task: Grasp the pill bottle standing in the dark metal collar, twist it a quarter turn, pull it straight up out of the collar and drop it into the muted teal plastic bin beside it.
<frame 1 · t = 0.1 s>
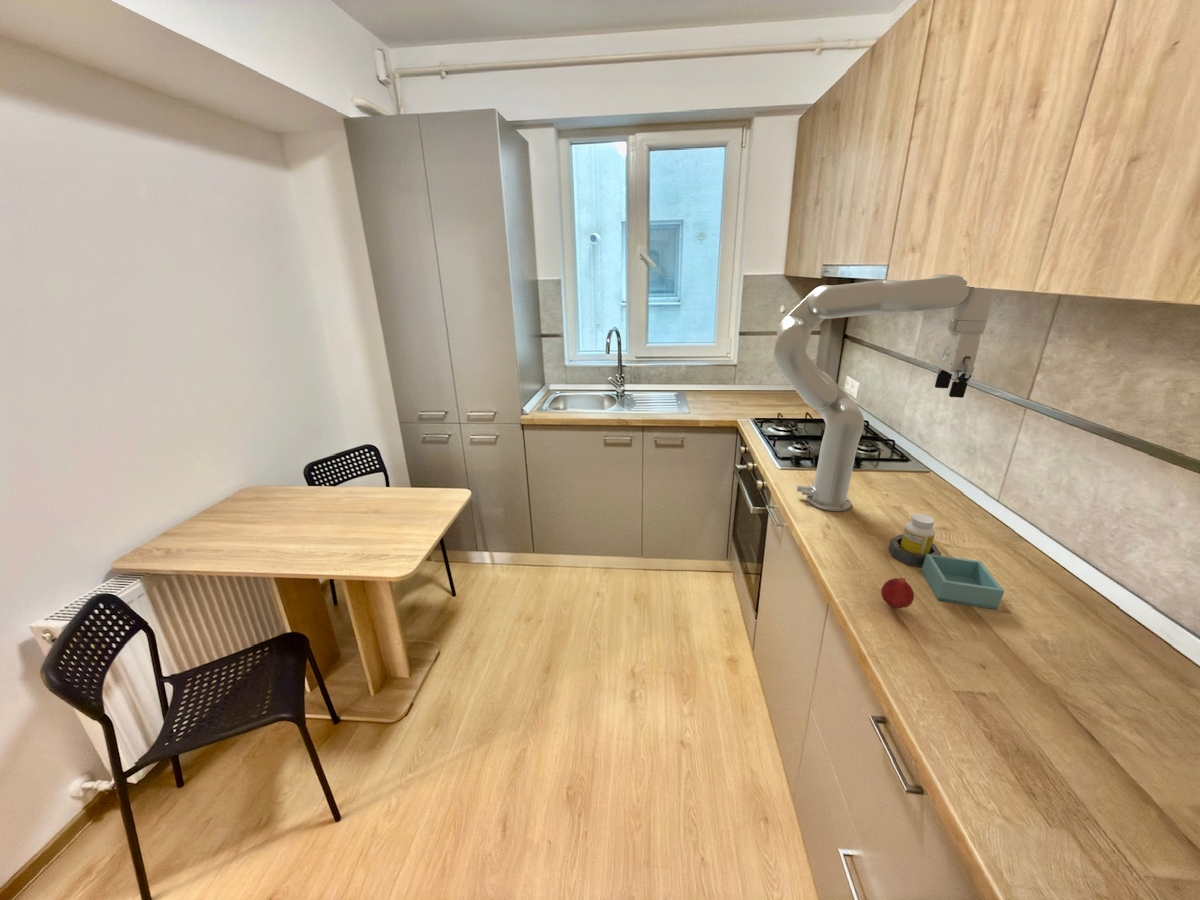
hand: (948, 392, 125), 37 cm above the table, tool pointing down, fingers open, 9 cm apart
bin: (956, 589, 106), on the table
pill bottle: (912, 556, 118), resting in socket collar
socket collar: (912, 556, 118), on the table
onion: (893, 608, 101), on the table
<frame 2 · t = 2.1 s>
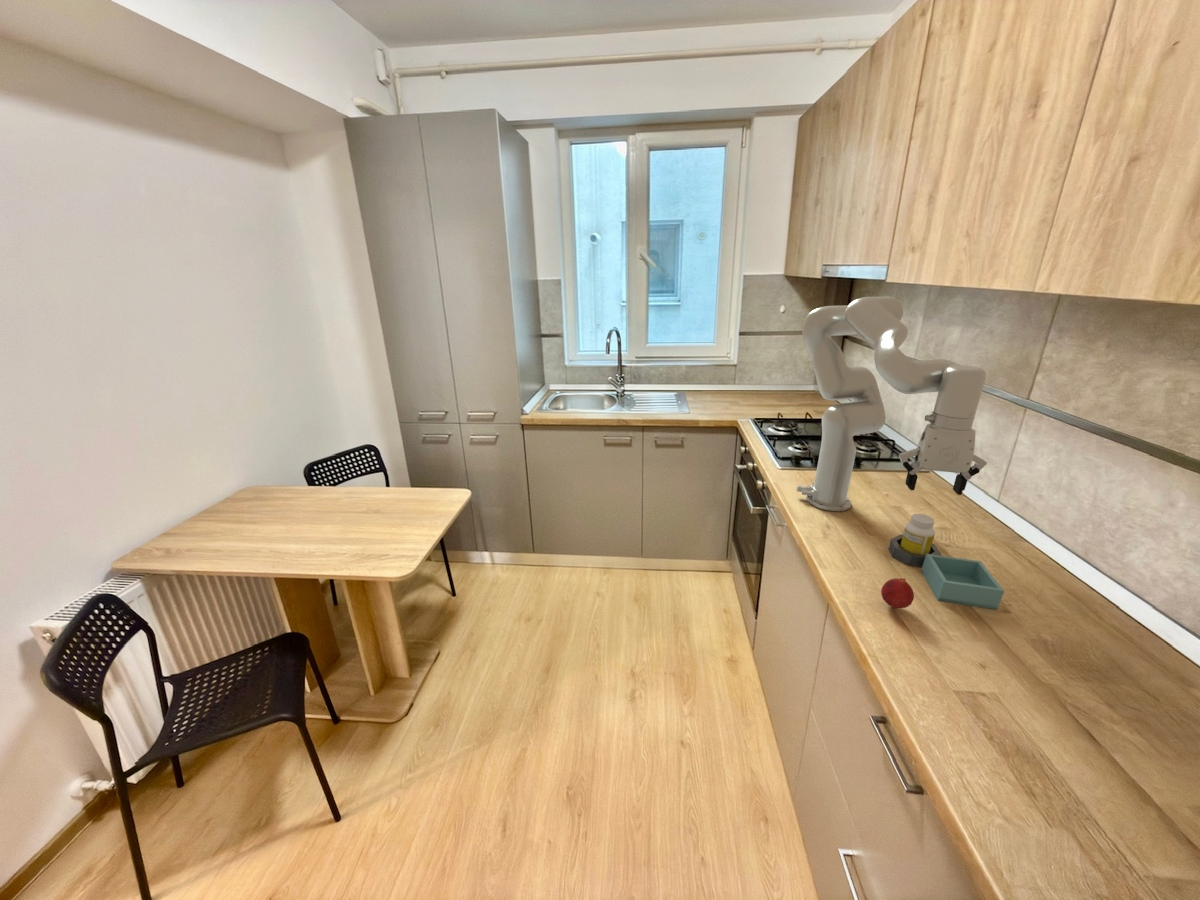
hand: (933, 490, 111), 19 cm above the table, tool pointing down, fingers open, 9 cm apart
nothing on the table moved.
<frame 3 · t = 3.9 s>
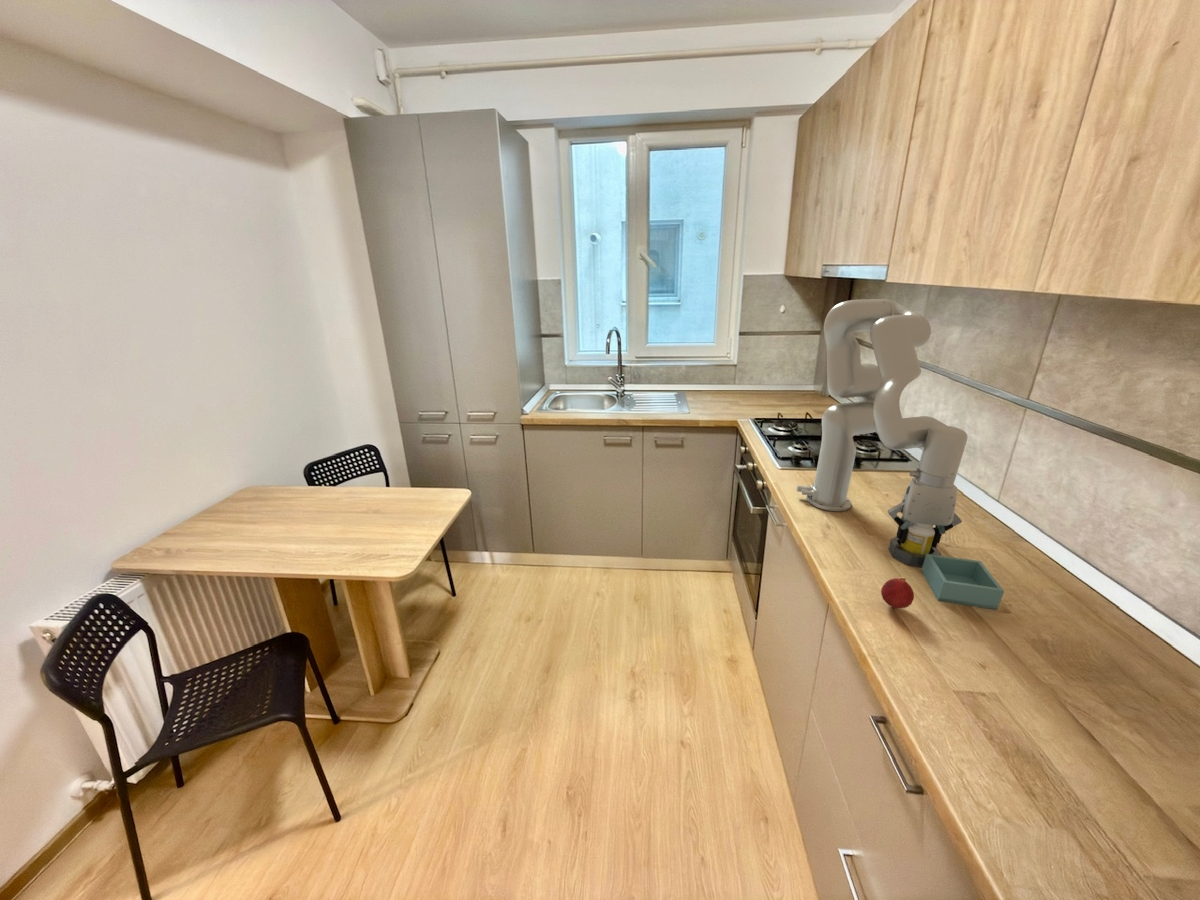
hand: (916, 542, 117), 4 cm above the table, tool pointing down, fingers closed on pill bottle, 6 cm apart
pill bottle: (912, 556, 118), resting in socket collar, touching gripper
everything else where it was.
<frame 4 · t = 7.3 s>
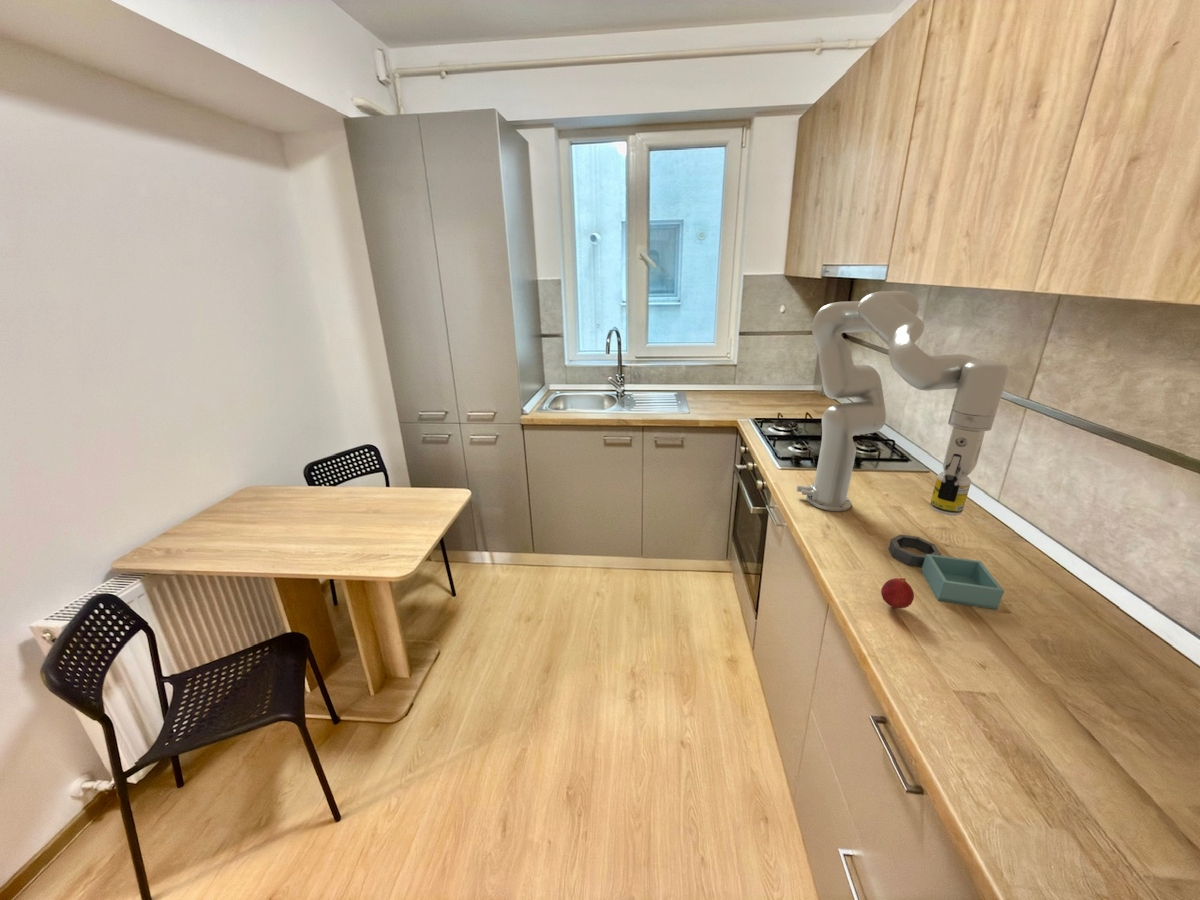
hand: (949, 494, 107), 20 cm above the table, tool pointing down, fingers closed on pill bottle, 6 cm apart
pill bottle: (945, 511, 108), point 16 cm above the table, touching gripper
everything else where it was.
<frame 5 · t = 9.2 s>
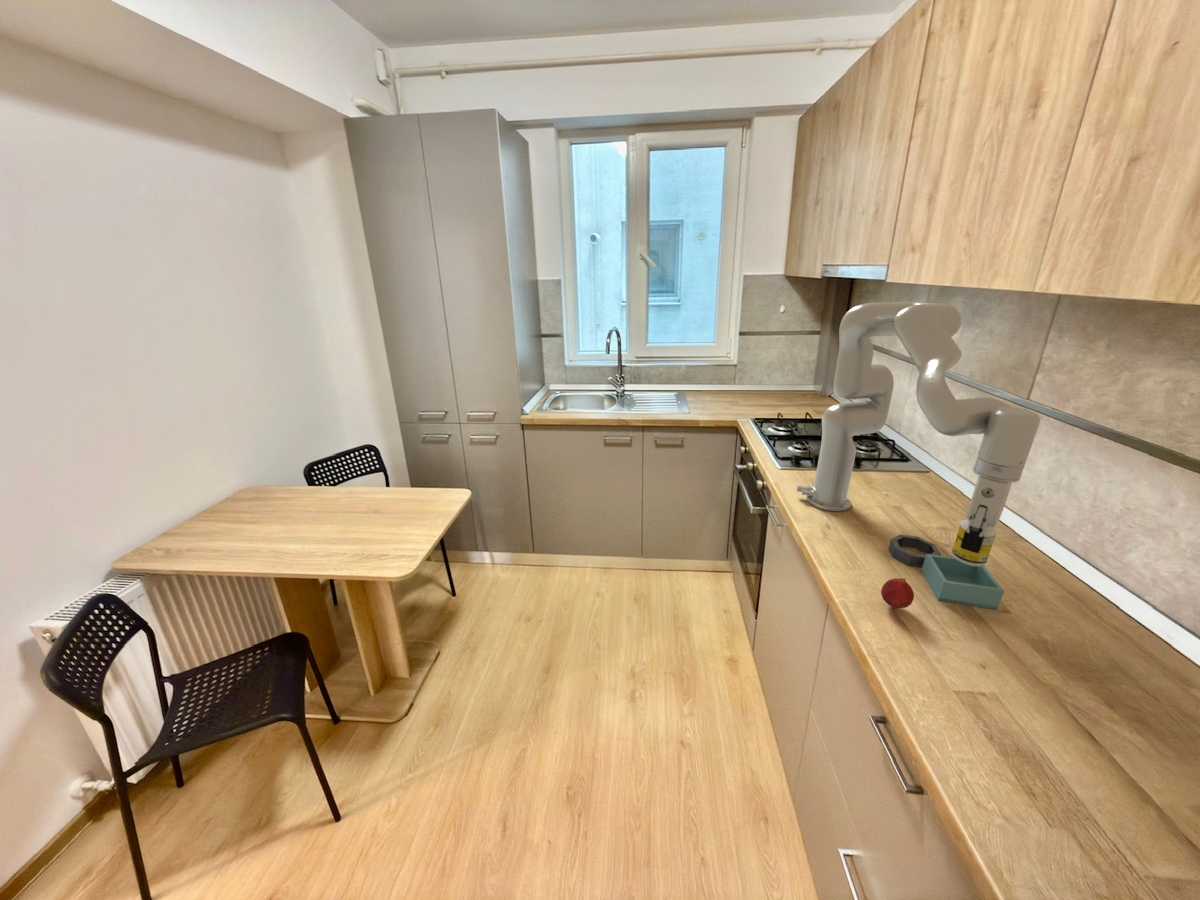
hand: (973, 543, 102), 12 cm above the table, tool pointing down, fingers closed on pill bottle, 6 cm apart
pill bottle: (967, 559, 103), point 8 cm above the table, touching gripper
everything else where it was.
when the fingers open (7 cm above the table, at t = 10.7 s): pill bottle drops 2 cm, resting on bin.
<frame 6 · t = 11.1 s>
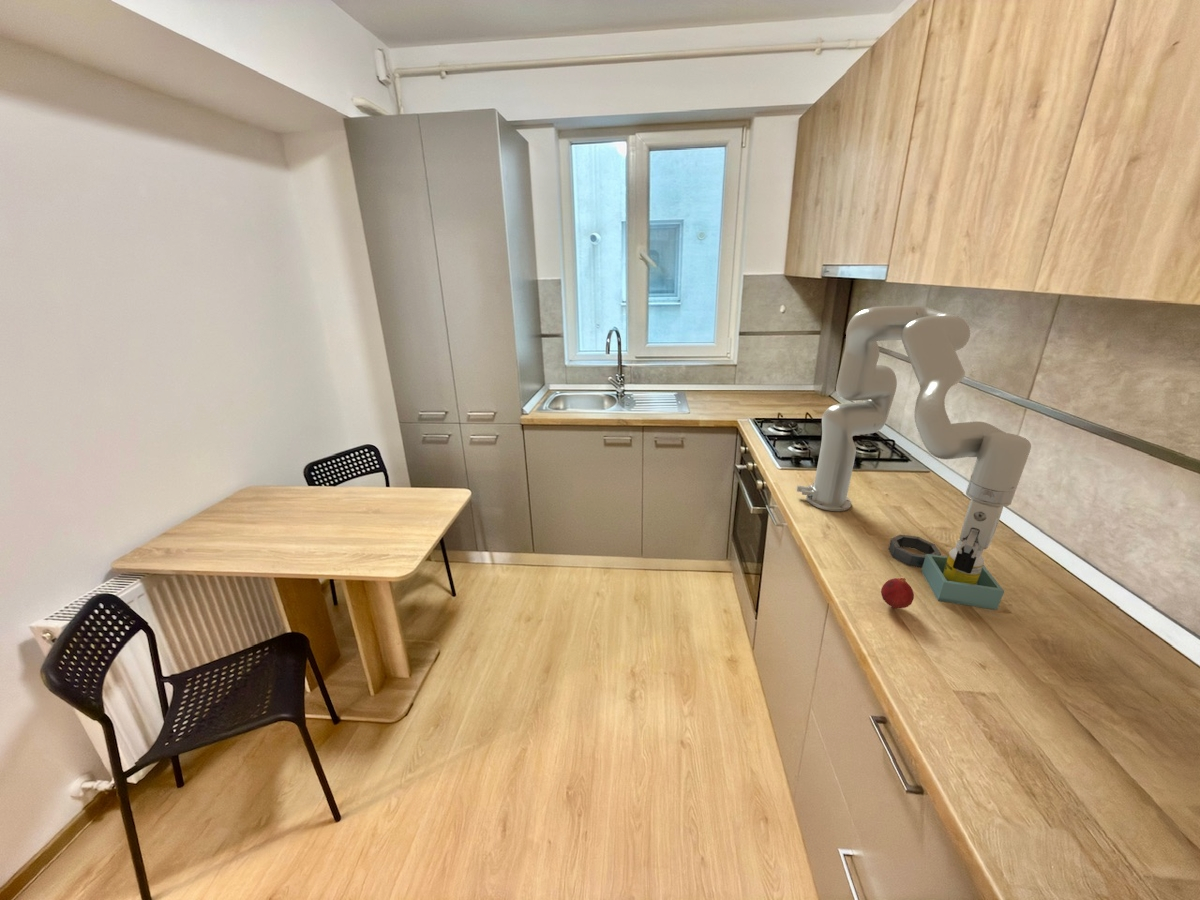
hand: (966, 560, 103), 8 cm above the table, tool pointing down, fingers open, 9 cm apart
pill bottle: (956, 586, 106), point 1 cm above the table, touching bin
everything else where it was.
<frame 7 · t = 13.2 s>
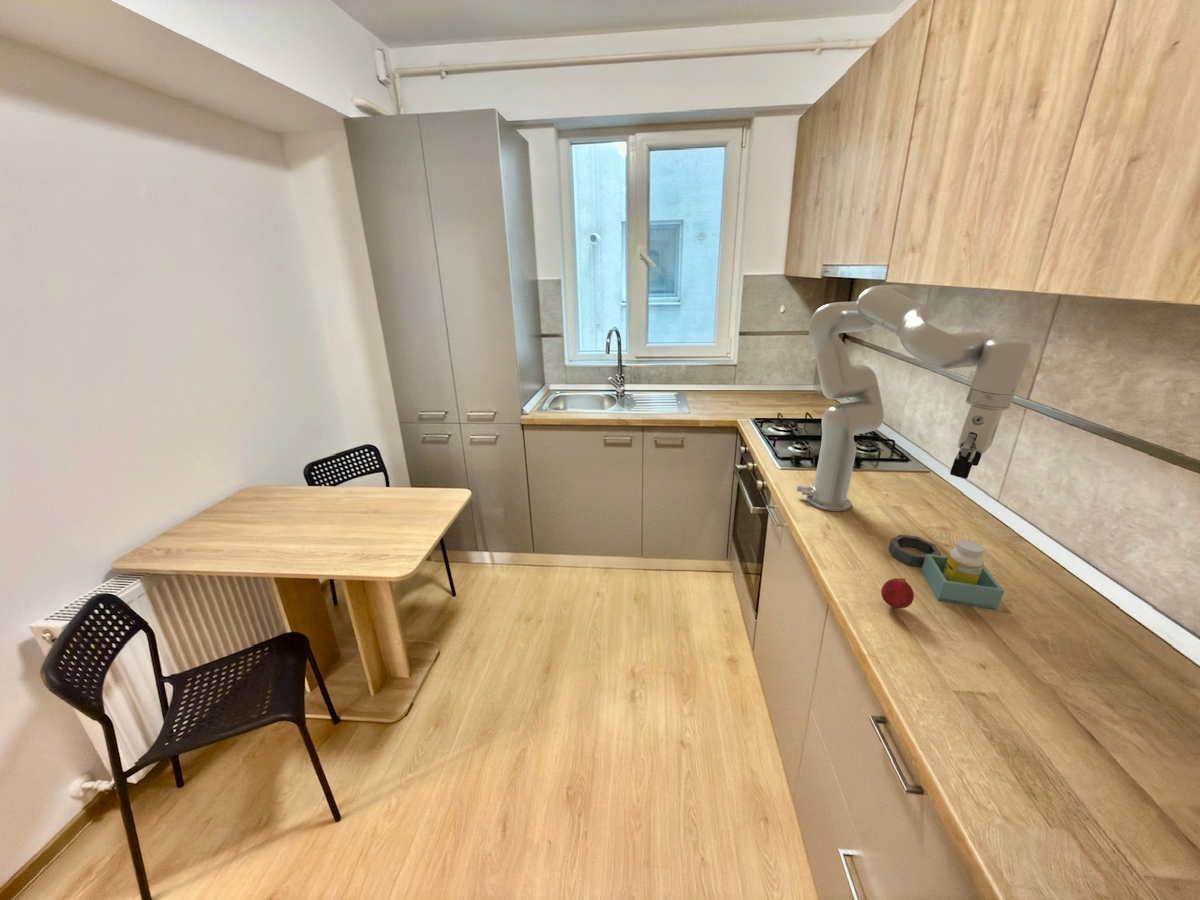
hand: (963, 469, 106), 25 cm above the table, tool pointing down, fingers open, 9 cm apart
nothing on the table moved.
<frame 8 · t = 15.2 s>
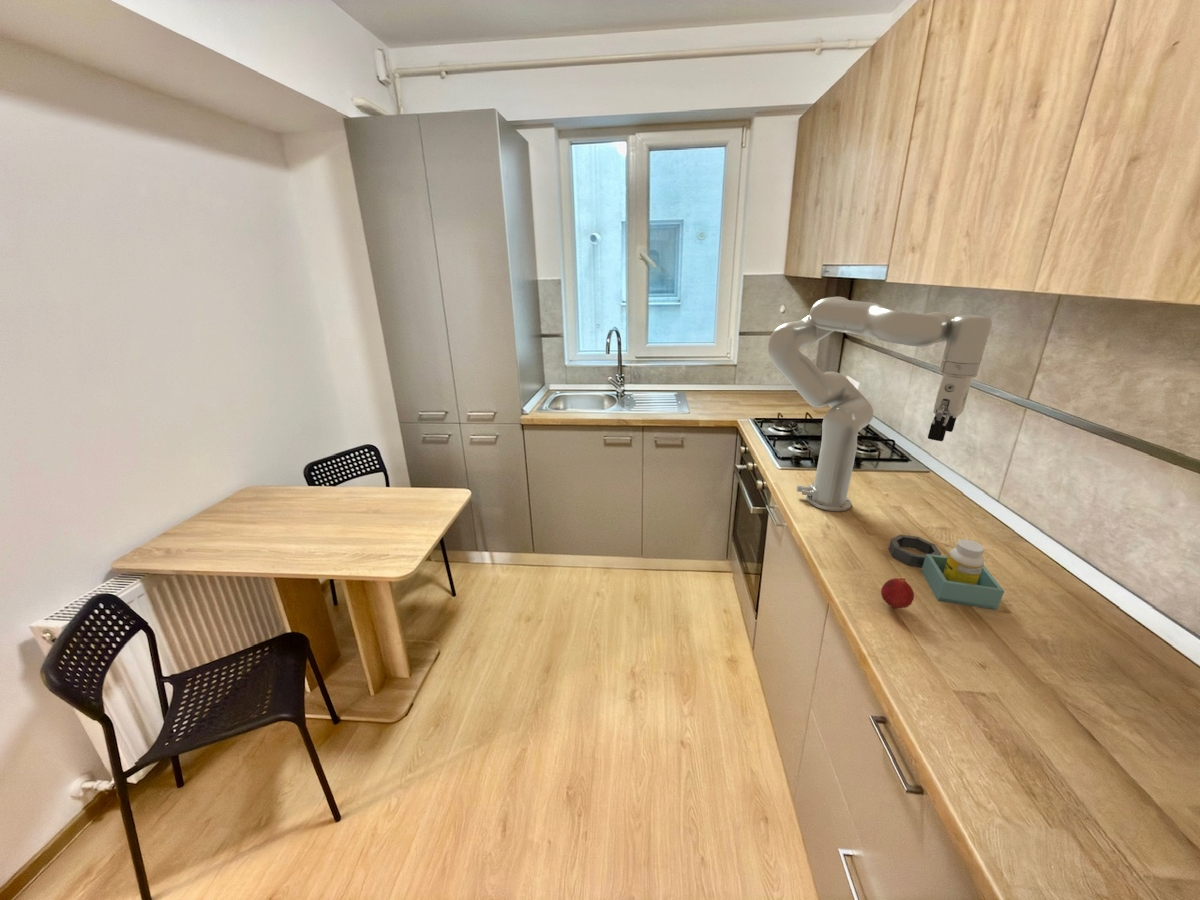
hand: (940, 435, 119), 28 cm above the table, tool pointing down, fingers open, 9 cm apart
nothing on the table moved.
at the end: pill bottle inside the target area on the bin (0.2 cm from its centre), point 0.6 cm above the bin's base; the gripper is holding nothing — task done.
